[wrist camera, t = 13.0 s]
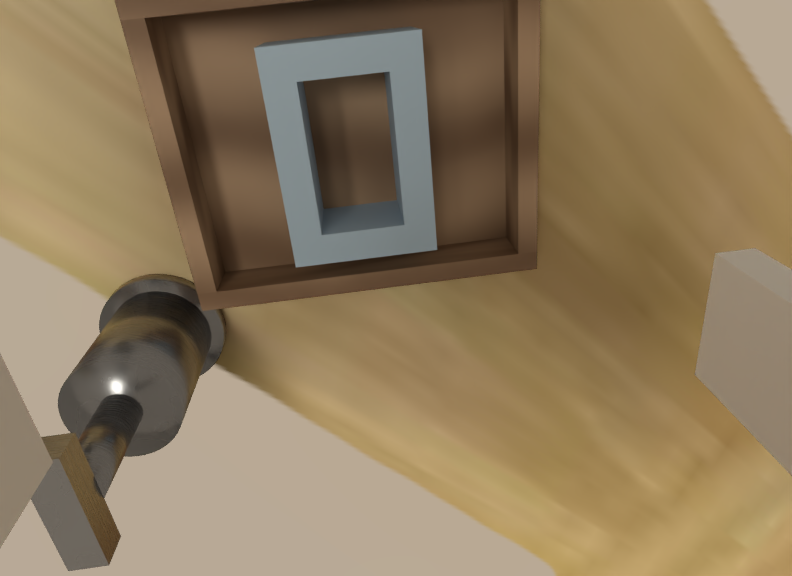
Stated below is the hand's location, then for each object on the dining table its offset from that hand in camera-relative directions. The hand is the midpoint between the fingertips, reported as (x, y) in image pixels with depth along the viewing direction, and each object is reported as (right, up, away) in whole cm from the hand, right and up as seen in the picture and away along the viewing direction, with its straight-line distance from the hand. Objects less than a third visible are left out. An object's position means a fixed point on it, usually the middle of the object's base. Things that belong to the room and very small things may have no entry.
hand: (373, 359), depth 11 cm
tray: (-2, +9, +20) cm, 22 cm away
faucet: (-13, -1, +24) cm, 27 cm away
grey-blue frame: (-2, +9, +19) cm, 21 cm away
